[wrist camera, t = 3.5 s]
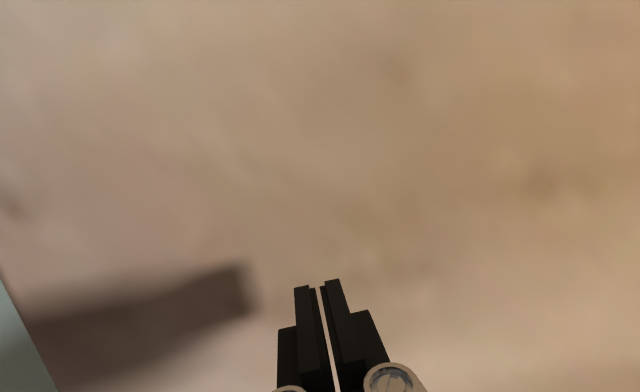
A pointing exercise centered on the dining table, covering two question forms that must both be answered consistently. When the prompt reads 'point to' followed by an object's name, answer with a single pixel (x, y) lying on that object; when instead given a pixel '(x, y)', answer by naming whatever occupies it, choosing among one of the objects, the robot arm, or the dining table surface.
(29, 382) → the gate
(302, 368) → the robot arm
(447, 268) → the dining table surface
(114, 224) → the dining table surface
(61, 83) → the dining table surface
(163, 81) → the dining table surface
